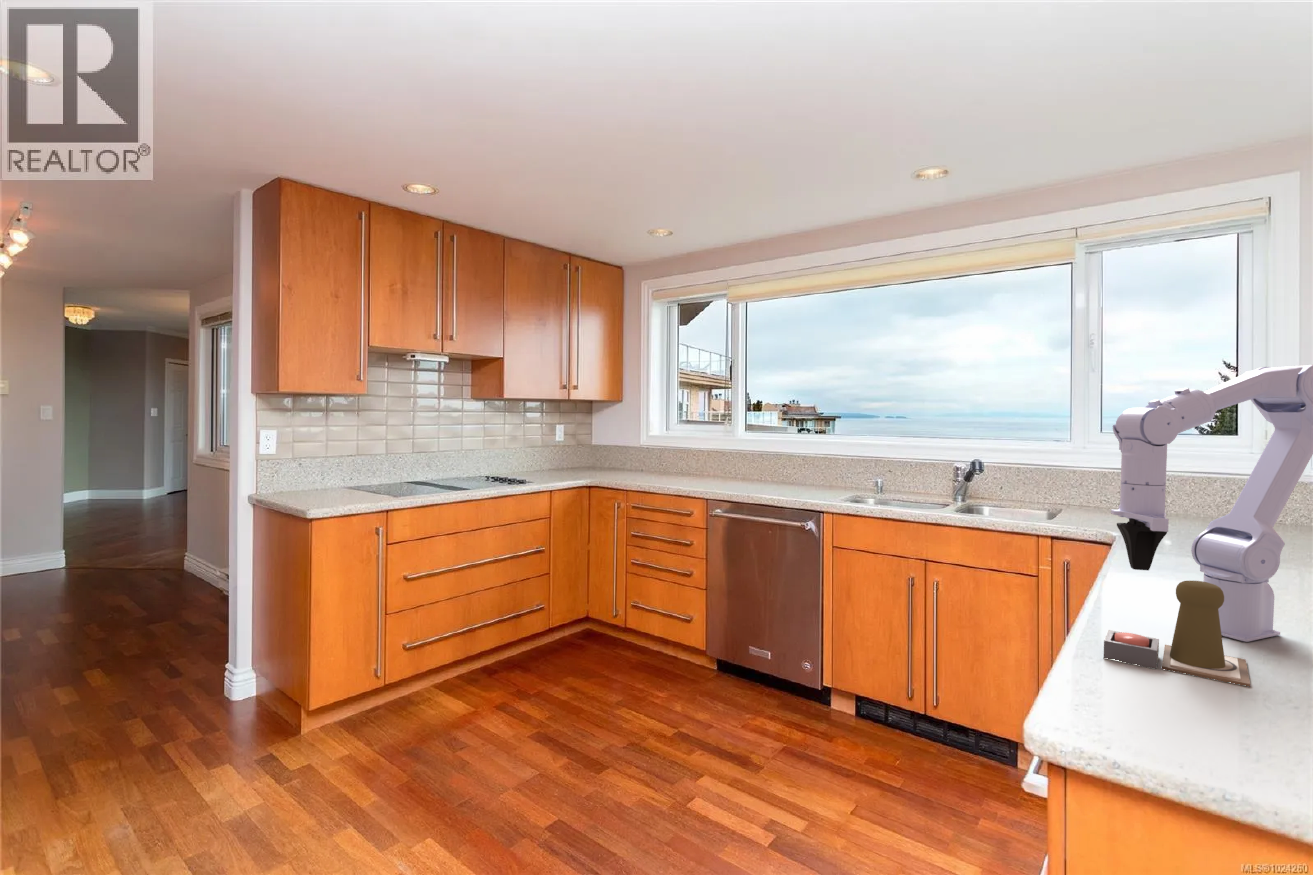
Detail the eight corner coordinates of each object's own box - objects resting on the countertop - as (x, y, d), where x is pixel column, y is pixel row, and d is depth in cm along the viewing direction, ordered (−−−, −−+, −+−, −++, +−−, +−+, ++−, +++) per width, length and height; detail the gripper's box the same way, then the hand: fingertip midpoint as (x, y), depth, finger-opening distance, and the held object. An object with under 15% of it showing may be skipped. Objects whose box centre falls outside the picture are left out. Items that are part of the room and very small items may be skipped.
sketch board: (1164, 647, 98) (1164, 642, 98) (1245, 662, 92) (1245, 657, 92) (1161, 669, 89) (1161, 664, 89) (1250, 687, 84) (1250, 682, 84)
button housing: (1107, 647, 98) (1108, 629, 98) (1158, 656, 94) (1159, 639, 94) (1103, 658, 93) (1104, 640, 93) (1156, 669, 89) (1156, 650, 89)
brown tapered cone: (1236, 670, 87) (1240, 589, 87) (1185, 667, 88) (1188, 586, 88) (1207, 653, 93) (1210, 577, 93) (1160, 650, 94) (1162, 575, 94)
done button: (1115, 641, 96) (1116, 630, 96) (1149, 647, 94) (1150, 636, 94) (1113, 648, 93) (1113, 637, 93) (1147, 655, 91) (1148, 644, 91)
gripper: (1098, 478, 111) (1096, 557, 111) (1129, 487, 97) (1126, 577, 98) (1147, 479, 109) (1145, 560, 109) (1186, 489, 95) (1183, 582, 95)
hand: (1139, 569), depth 103 cm, fingers closed
